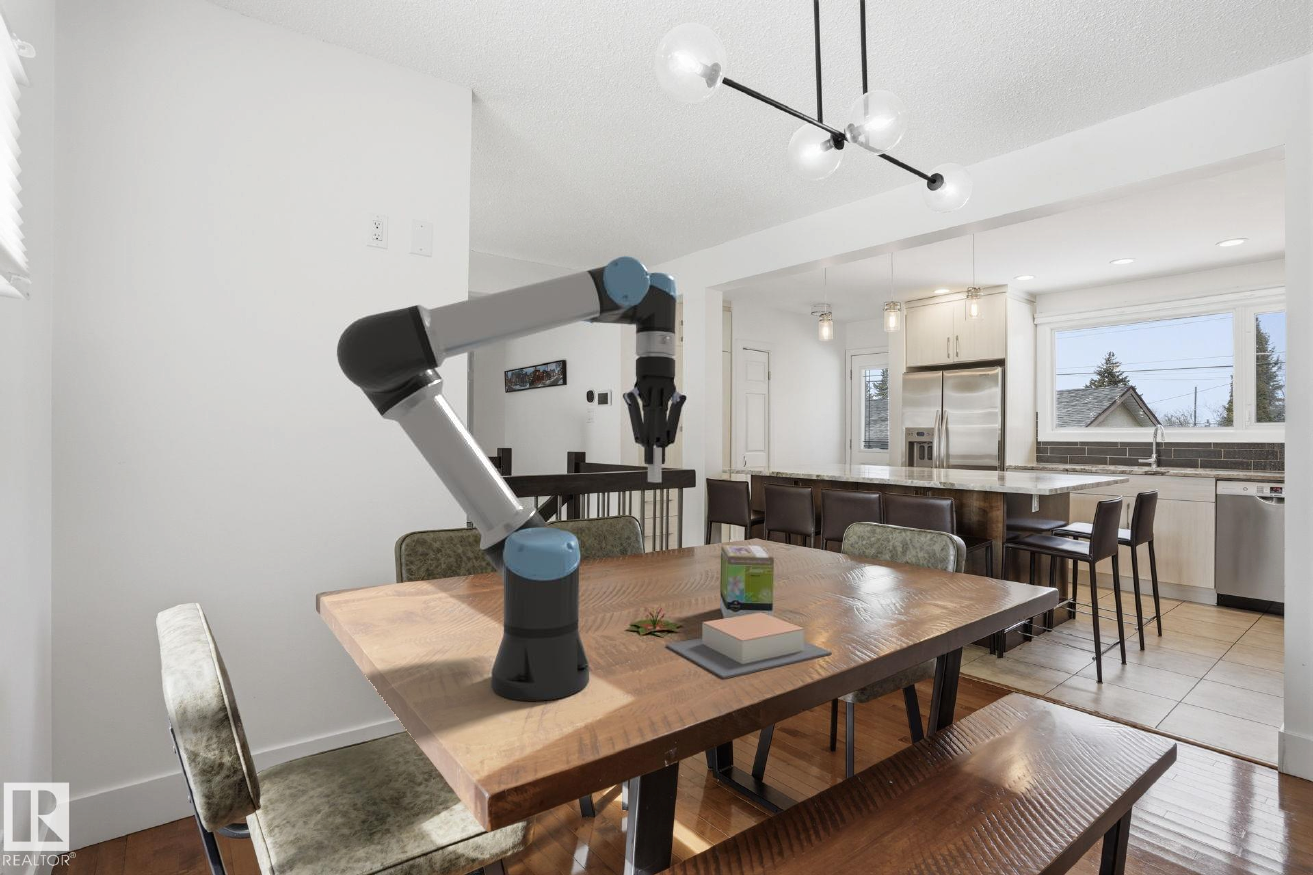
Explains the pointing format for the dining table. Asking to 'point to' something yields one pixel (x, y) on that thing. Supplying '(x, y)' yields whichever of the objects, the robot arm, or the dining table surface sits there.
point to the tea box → (746, 580)
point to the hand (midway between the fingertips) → (654, 481)
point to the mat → (732, 668)
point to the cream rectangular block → (752, 637)
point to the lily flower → (654, 625)
